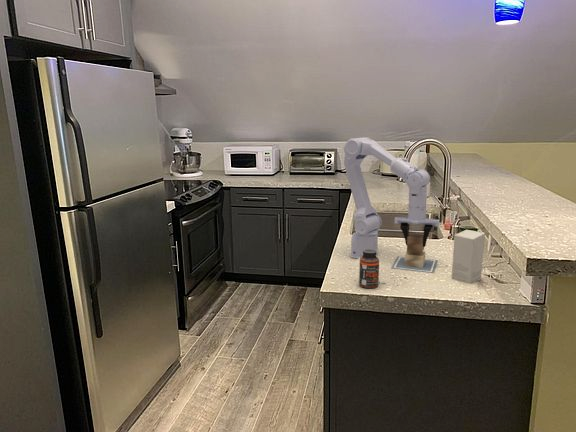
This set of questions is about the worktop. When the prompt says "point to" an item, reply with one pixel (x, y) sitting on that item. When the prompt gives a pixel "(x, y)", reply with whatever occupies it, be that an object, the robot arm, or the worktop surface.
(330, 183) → the worktop surface
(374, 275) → the supplement bottle
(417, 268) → the board
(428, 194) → the mug
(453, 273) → the skincare box
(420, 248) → the walnut cube
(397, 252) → the worktop surface
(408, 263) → the maple base block
